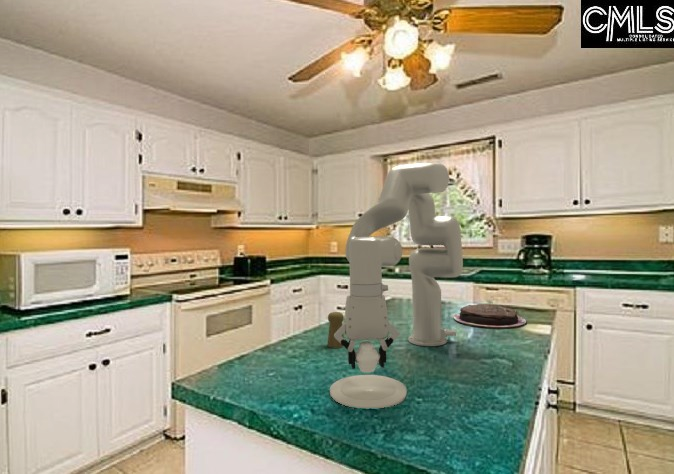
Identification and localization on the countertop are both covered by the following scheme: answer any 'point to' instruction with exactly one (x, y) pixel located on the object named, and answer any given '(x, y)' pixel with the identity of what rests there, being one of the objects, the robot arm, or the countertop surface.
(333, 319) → the cork
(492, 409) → the countertop surface
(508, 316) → the chocolate cake
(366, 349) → the muffin
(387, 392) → the plate
